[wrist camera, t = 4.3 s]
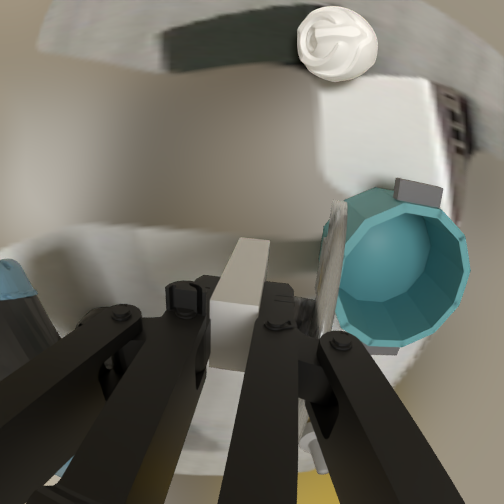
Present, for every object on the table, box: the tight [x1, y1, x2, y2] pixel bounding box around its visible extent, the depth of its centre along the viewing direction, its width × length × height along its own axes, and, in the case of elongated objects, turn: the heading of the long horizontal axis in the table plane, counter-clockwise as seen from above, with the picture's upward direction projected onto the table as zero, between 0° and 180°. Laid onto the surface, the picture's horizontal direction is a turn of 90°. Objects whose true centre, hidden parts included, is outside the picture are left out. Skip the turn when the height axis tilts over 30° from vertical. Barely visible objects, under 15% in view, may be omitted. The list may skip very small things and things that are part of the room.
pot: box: [315, 178, 471, 355], centre depth 30 cm, size 18×15×9 cm
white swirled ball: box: [297, 6, 378, 82], centre depth 24 cm, size 8×8×8 cm
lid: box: [294, 200, 348, 444], centre depth 19 cm, size 15×16×3 cm
